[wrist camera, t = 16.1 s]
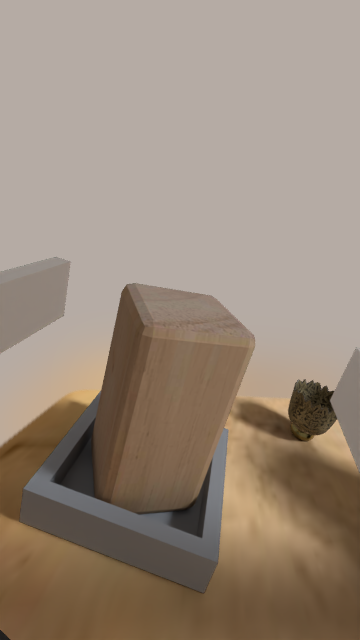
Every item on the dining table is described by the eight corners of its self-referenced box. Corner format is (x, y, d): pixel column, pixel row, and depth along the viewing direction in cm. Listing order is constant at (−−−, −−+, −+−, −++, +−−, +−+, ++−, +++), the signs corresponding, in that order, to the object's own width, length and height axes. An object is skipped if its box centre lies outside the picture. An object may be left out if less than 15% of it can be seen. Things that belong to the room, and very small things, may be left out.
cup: (276, 412, 56) (294, 373, 54) (320, 429, 55) (340, 389, 52) (277, 440, 49) (298, 396, 47) (327, 459, 48) (351, 415, 46)
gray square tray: (219, 453, 44) (228, 429, 42) (203, 593, 28) (217, 562, 26) (98, 411, 45) (103, 387, 44) (19, 521, 29) (23, 488, 28)
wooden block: (89, 441, 38) (122, 277, 31) (170, 440, 42) (216, 293, 35) (94, 523, 30) (141, 323, 23) (195, 513, 33) (264, 338, 26)
